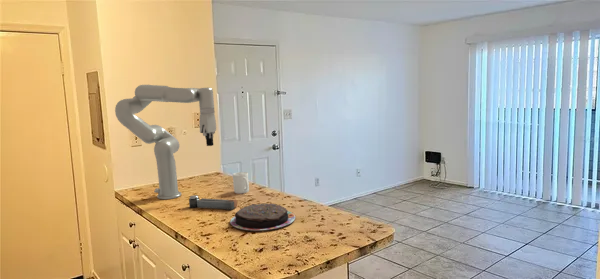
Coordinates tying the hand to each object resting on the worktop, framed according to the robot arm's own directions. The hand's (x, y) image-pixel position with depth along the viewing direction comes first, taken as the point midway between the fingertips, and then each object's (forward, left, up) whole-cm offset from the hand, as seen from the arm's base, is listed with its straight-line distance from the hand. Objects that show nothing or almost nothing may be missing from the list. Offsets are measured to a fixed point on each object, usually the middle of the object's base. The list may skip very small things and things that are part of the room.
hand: (210, 145), depth 216 cm
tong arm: (+11, -21, -27) cm, 36 cm away
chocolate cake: (+43, -35, -28) cm, 62 cm away
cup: (+14, +7, -27) cm, 31 cm away
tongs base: (+11, -21, -27) cm, 36 cm away
